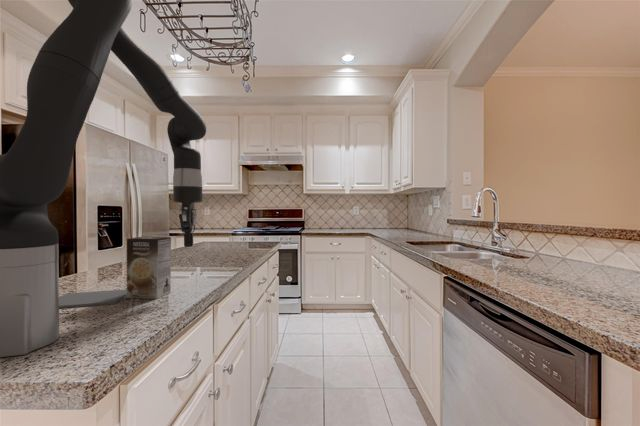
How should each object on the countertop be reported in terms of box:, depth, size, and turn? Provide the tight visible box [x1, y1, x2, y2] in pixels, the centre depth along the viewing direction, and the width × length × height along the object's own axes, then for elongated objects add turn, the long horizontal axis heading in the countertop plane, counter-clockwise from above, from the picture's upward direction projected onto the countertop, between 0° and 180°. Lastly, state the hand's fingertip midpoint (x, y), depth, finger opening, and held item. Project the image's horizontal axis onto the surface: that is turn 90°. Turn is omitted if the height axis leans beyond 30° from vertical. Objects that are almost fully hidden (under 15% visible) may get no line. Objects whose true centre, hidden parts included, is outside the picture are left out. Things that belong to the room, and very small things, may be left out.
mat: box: [59, 288, 127, 309], centre depth 75 cm, size 12×16×1 cm
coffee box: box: [126, 235, 172, 300], centre depth 78 cm, size 9×6×16 cm
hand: (188, 246), depth 81 cm, fingers closed
